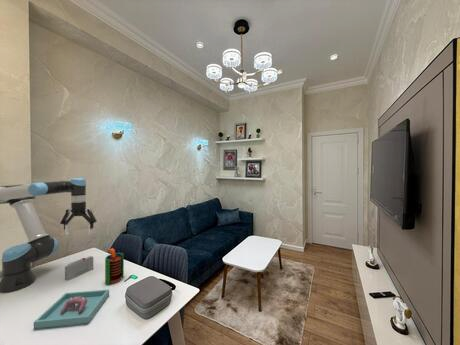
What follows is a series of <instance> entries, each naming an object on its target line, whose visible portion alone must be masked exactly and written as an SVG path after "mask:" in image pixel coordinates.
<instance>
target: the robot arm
mask: <svg viewBox="0 0 460 345" xmlns="http://www.w3.org/2000/svg"><path fill="white" fill-rule="evenodd" d="M86 183H87V181H86V178H84V177H73V178H71V179H70V180H57V181H41V182H40V181H39V182H32V183H28V184H14V185H12V184H11V185H0V205H4V204H9V206H10V207H11V208H14V210H15V212H16V214H17V216H18V219H19V221H20V223H21V226H22V228H23V231H24V233H25V235H26V237H27V239H28V240H27V242H26V243H21V244H17V245H14V246H11V247H9V248H7V249H5V250H4V251H3V252H2V257H1V262H2V263H1V265H2V268H1V269H2V272H1V273H2V274H1V276H2V277H1V279H0V292H8V293H12V292H15V291H19V290H22V289H24V288H26V287H28V286H31V285H32V284H33V283H34V282H35V281H36V276H35V274H34V272H33V270H32V263H35V262H37V261H39V260H43V259H45V258H48V257H50V256H51V255H53V254H56V252H57V250H58V248H59V241H58V239H57V238H56V237H54V236H53V237H52V236H51V235H50V234H48V233H46V231H45V229H44V226H43V224H42V222H41V220H40V217H39V215H38V213H37V210H36V208H35V205H34V204H33V203H34V201H35V198H36V197H39V196H40V197H41V196H48V195H53V194H62V193H70V197H71V199H70V201H71V203H70V205H71V206H70V208H68V209H66V210H65V213H64V215H63V217H62V219H61V221H60V225H63V230H64V232H65V233H64V234H65V236H68V235H70V222H71V220H73V218H74V217H83V218H84V219H85V220H86V221H87V222H88V223H89V224H88V235H91V234H93V229H94V224H95V223H97V221H98V220H97V218H96V217H95V214H93V212H92V208H87V201H86V200H87V193H86V192H87V188H86V186H87V184H86ZM70 213H71V214H70Z"/></svg>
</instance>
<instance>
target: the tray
mask: <svg viewBox="0 0 460 345" xmlns="http://www.w3.org/2000/svg"><path fill="white" fill-rule="evenodd" d="M78 296H80V297H84V298H87V303H86V305H85V308H84V310H83V311H82V313H80V314H79V313H78V311H79V310H76V307H75V309H73V310H69V307H68V309H67V310H66V311H65V313H64V314H61V310H62V308H63V306H64V305H65V303H66V302H67V301H68V299H70V298H73V297H78ZM109 296H110V289H109V288H107V289H99V290H98V289H97V290H96V289H95V290H87V291H86V290H84V291H73V292H64V294H62V296H61V297H60V298H58V299H57V300H56V301H55V302H54V303H53V304H52V305H50V306H49V308H47V309H46V310H45V311H44V312H43V313H42V314H41V315H40V316H39V317H37V319H35V320H34V321H33V331H36V330H45V329H56V328H66V327H77V326H85V325H89V324H90V322H91V321H92V320H93V319H94V317H95V316H96V314H97V313H98V312H99V310H100V309H101V307H102V306H103V305H104V303H105V302H106V301H107V300H108V298H109ZM77 305H78V304H75V306H77Z"/></svg>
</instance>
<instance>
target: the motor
mask: <svg viewBox="0 0 460 345" xmlns="http://www.w3.org/2000/svg"><path fill="white" fill-rule="evenodd" d="M108 253H109V254H108V255H107V256H106V257H105V259H104V260H105V261H104V265H105V266H104V268H105V269H104V272H105V275H104V280H105V282H104V284H105V285H106V286H110V285H115V284H118V283H120V282H122V279H123V277H124V275H125V274H124V272H125V270H124V268H125V267H124V266H125V265H124V263H125V262H124V261H125V258H124V256H125V255H124V253H123V252H116V250H115V249H114V248H110V249H108Z"/></svg>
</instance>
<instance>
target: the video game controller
mask: <svg viewBox="0 0 460 345" xmlns="http://www.w3.org/2000/svg"><path fill="white" fill-rule="evenodd" d="M86 303H87V298H84V297H80V296H78V297H73V298H70V299H68V301H67V302H66V303H65V305H64V306H63V308H62V310H61V314H64V313H65V311H66V310H67V309H68V307H69V310H73V309H75V307H76V310H79V311H78V313H79V314H80V313H82V311H83V310H84V308H85V305H86ZM75 304H78V305H77V306H75Z"/></svg>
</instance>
